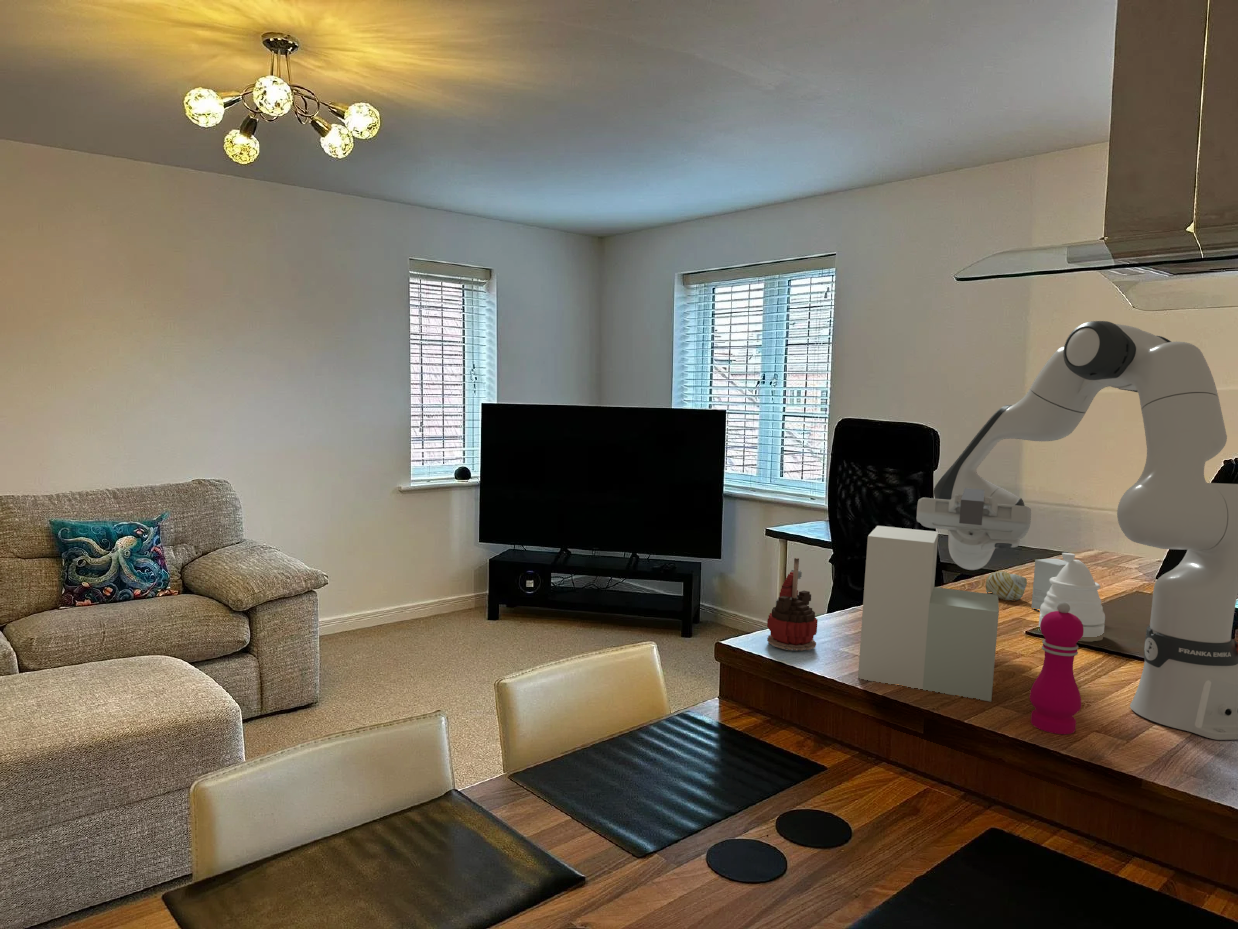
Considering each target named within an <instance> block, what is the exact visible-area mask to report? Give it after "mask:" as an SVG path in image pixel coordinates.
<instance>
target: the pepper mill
mask: <svg viewBox="0 0 1238 929" xmlns="http://www.w3.org/2000/svg"><path fill="white" fill-rule="evenodd" d="M1057 609H1058V611H1054V612H1050V613H1048V614H1046V615H1045V616H1044V617H1043V618H1042V621H1041V624H1040V630H1041V634H1042V635H1043V637H1044V639H1042V641H1041V642H1042V645H1041V649H1042V650H1043V651H1044V659H1043V665H1042V668H1041V670H1040V672H1039V674H1038V676H1037V677H1036V679H1035V680H1034V682H1033V683H1032V686H1031V688H1030V693H1029V700H1030V703H1031V705H1032V706H1033V708H1034V709H1033V710H1031V716H1030V723H1031V725H1032V726H1033V727H1034V728H1036V729H1038V730H1040V731H1044V732H1047V733H1050V734H1056V735H1072V734H1073V733H1075V731H1076V726H1077V725H1076V724H1077V720H1076V718H1075V717H1074V716H1075V715H1076V714H1077V713H1079V712H1080V710H1081V708H1082V697H1081V693H1080V690H1079V687H1078V685H1077V682H1076V679H1075V676H1074V661H1075V656H1077V655H1078V654H1079V652H1078V650H1079V645H1078V644H1077V643H1078V641H1079V640H1080V639H1081V638H1082V636H1083V632H1084V630H1083V624H1082V622H1081V621H1080V619H1079V618H1078V617H1076V616H1075V615H1073V614H1071V613H1068V612H1069V610H1070V606H1069V604H1067V603H1066V602H1061V603H1059V604H1058V606H1057Z"/></svg>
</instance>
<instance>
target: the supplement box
mask: <svg viewBox="0 0 1238 929" xmlns="http://www.w3.org/2000/svg"><path fill="white" fill-rule="evenodd" d="M1067 563H1068V562H1065V561H1064V559H1060V558H1041V559H1034V572H1033V583H1032V584H1033V585H1032V594H1031V608H1035V609H1040V607H1041V605H1042V604H1043V603H1044V599H1045V597H1046V596H1047V592H1048V591H1049V590H1050V588H1051V586H1052V584H1051V583H1050V581H1049V580H1050V578H1052V577H1057V575H1058V574H1059V572H1060V571H1061V570H1062V568H1063V567H1064V566H1065V565H1066V564H1067ZM1040 610H1041V609H1040Z"/></svg>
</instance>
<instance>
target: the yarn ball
mask: <svg viewBox="0 0 1238 929" xmlns="http://www.w3.org/2000/svg"><path fill="white" fill-rule="evenodd" d="M1027 580H1028V579H1027V578H1026V577H1024V576H1022V575H1019V574H1017V573H1016V574H1013V573H1009V572H1008V571H1004V570H998V571H995V572H992V573H990V574H988V576H987V578H986V579H985V593H986V592H987V594H989V593H988V592H992V593H991V594H995V595H998V599H1001V600H1002V599H1004V601H1006V600H1016V601H1018V600H1020V599H1021V598H1023V596H1024V594H1025V591H1026V587H1027V585H1028V581H1027Z"/></svg>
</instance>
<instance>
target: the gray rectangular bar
mask: <svg viewBox="0 0 1238 929" xmlns="http://www.w3.org/2000/svg"><path fill="white" fill-rule="evenodd" d="M983 504H984V490H982V489H970V488H965V489H964V492H963V495H962V498H961V507H960V520H959V523H963V524H973V525H982V516H983Z"/></svg>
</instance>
